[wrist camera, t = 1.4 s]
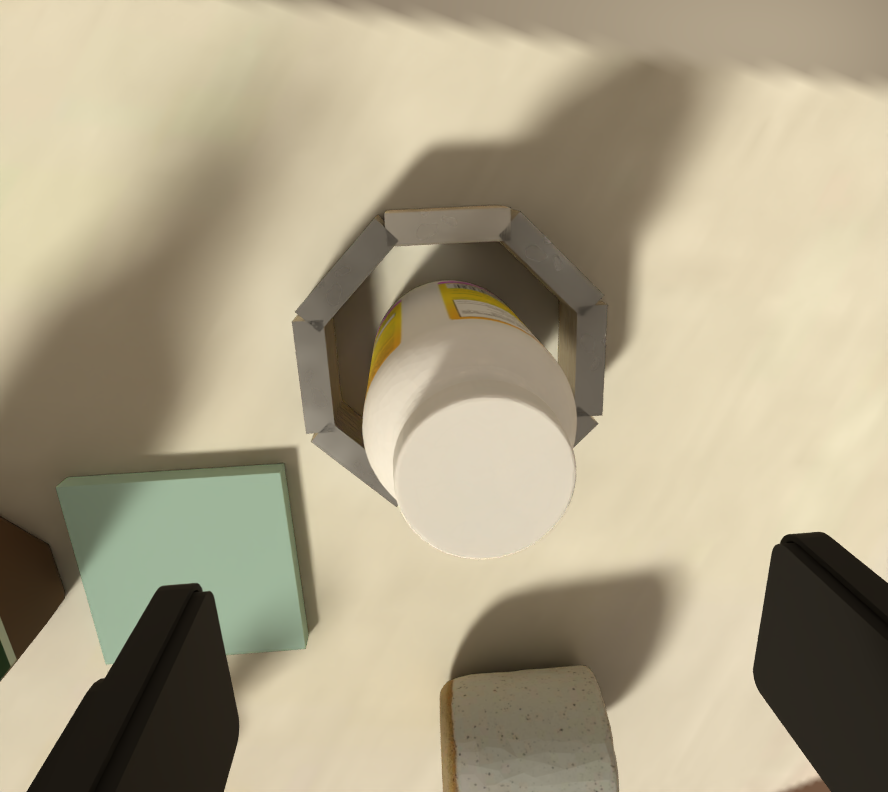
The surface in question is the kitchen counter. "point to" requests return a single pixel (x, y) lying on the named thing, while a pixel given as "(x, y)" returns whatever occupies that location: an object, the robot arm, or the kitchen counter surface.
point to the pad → (189, 550)
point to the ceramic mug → (526, 733)
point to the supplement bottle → (469, 422)
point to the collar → (428, 226)
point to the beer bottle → (24, 591)
